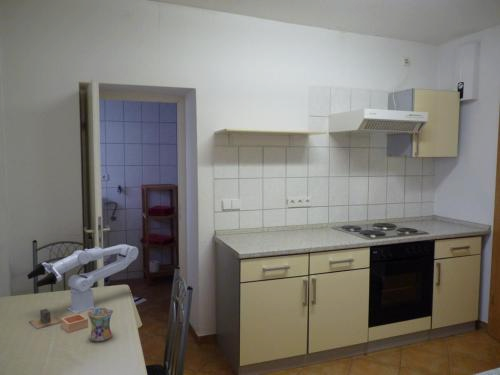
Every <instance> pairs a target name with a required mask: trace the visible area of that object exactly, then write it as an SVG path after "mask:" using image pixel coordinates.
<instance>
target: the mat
mask: <svg viewBox="0 0 500 375" xmlns="http://www.w3.org/2000/svg"><path fill="white" fill-rule="evenodd" d="M27 324H29V326H30V327H32V328H33V329H34V330H35V331H39V330H42V329H46V328H49V327H53V326H54V327H55V326H56V325H61V323H59V324H55V325H52V326H48V327H44V328H41V329H36V328H35V327H34V326H33V325H31V324H30V323H29V321H28V322H27Z"/></svg>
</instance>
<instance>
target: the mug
mask: <svg viewBox="0 0 500 375" xmlns="http://www.w3.org/2000/svg"><path fill="white" fill-rule="evenodd" d="M113 313H114V311H113V309H112V308H110V307H98V308H94V309H90V310H89V311H88V312H87V316H88V318H89V320H90V324H91V326H90V327H91V330H90V334H89V338H88V339H89V340H91V341H93V342H103V341H106V340H108V339H110V338H112V336H113V333H112V331H111V327H110V324H111V322H110V321H111V319H112V318H111V317H112V315H113Z"/></svg>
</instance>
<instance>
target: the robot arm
mask: <svg viewBox="0 0 500 375" xmlns="http://www.w3.org/2000/svg"><path fill="white" fill-rule="evenodd" d="M116 254H117V256H116V260H115V261H112V262H111V263H108V264H107V265H104V266H102V267H99V268H97V269H94V270H92V271H90V272H85V273H80V274H73V275H71V276H70V277H69V278H68V281H67V285H68V287H69V288H70V306H69V307H67V309H68V310H69V311H71V312H72V313H74V314H76V313H77V314H78V313H79V312H83V311H84V312H85V311H88V310H93V309H95V305H94V291H93V289H92V288H91V287H93V286H94V283H96V282H98V281H100V280H103V279H106V278H107V277H109V276H112V275H114V274H117V273H119V272H122V271H123V270H125V269H126V268H128V266H129V265H130V264H131V263H132V262H134V261H135V260H137V258H138V256H139V249H138V247H137V246H132V245H129V244H126V243H123V244H117V245H114V246H109V247H106V248H102V247H100V246H99V247H98V246H94V248H89V249H88V248H84V250H81V249H79V250H74V252H73V253H72V254H71V255H69V256H66V257H64V258H62V259H59V260H58V261H56V262H54V263H52V262H50V263H47V262H45V261H44V262H42V263H41V262H40V263H38V265H37V266H36V267H35V268H34V269H33V270H31V271H30V272H29V273H28V274H27V279H28V280H31V279H34V278H36V277H40V276H44V277H43V278H41V279H40V280H38V281H36V282H35V283H36V287H37V288H40V287H42V286H48V285H57V282H60V281H62V280H63V277H62V274H64V273H66V272H68V271H70V270H72V269H74V268H77V267H78V266H79V265H87V264H88V263H89V262H94V261H97V260H98V261H99V260H102V259H103V257H105V256H110V255H116ZM46 272H47V273H48V274H47V275H46ZM45 275H46V276H45Z"/></svg>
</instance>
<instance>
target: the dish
mask: <svg viewBox="0 0 500 375" xmlns="http://www.w3.org/2000/svg"><path fill="white" fill-rule="evenodd" d="M60 320H61V324H60V327H61V328H62V329H63V330H64V331H65V332H67V333H68V334H69V333H70V334H71V333H73V332H76V331H79V330H82V329H88V327H89V319H88V318H87V317H86V316H85V315H83V314H82V313H77V314H76V313H75V314H73V315H69V316H65V317H61V318H60Z"/></svg>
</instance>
